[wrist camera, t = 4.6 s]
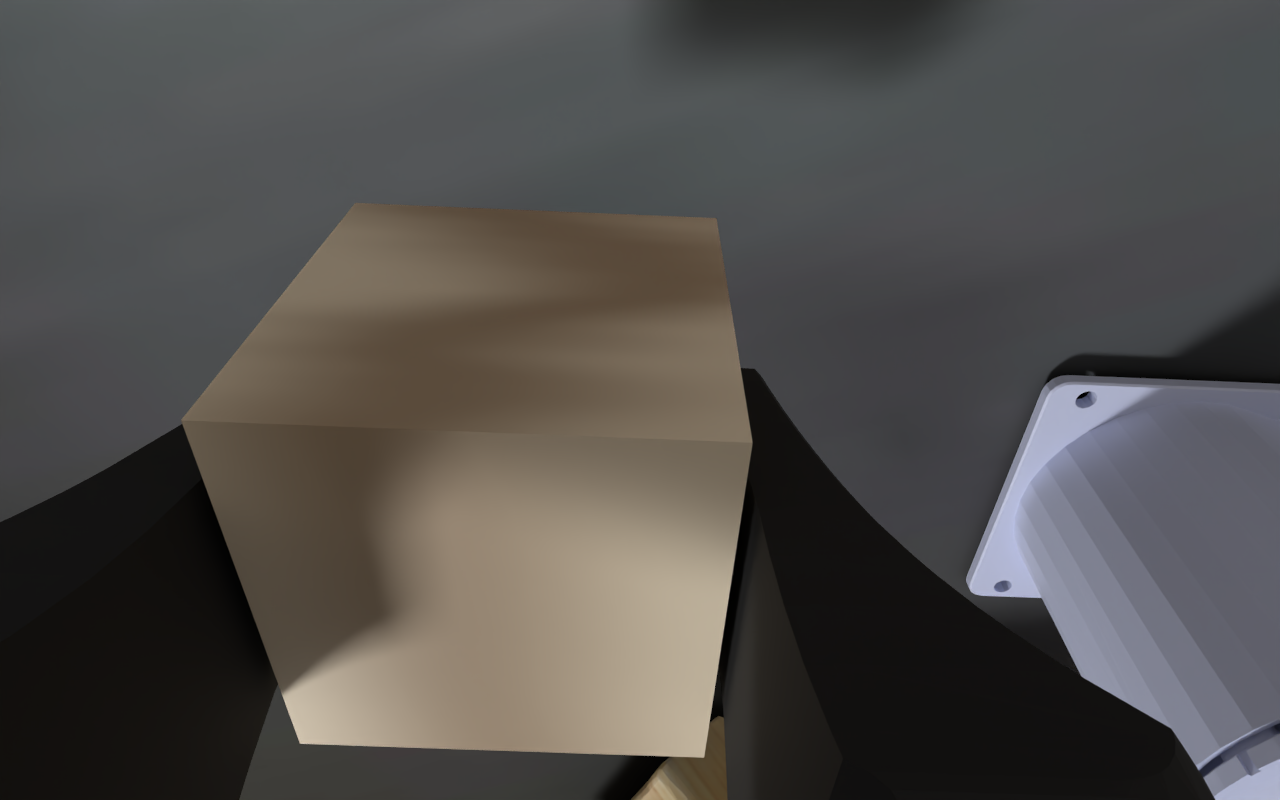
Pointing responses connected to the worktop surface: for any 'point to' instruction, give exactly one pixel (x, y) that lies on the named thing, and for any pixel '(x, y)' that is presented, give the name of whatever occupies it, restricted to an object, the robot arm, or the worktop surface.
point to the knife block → (692, 773)
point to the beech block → (489, 480)
